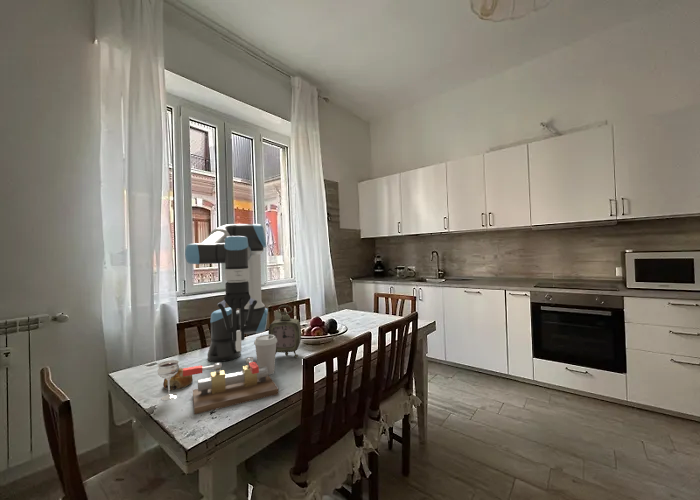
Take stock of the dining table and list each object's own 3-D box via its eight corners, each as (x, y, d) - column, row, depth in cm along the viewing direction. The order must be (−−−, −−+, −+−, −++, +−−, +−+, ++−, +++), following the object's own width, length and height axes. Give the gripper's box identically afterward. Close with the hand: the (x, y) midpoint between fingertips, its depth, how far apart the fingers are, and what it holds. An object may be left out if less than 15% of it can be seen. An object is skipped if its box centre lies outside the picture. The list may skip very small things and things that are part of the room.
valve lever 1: (221, 367, 114) (221, 361, 114) (222, 369, 112) (221, 364, 112) (183, 374, 108) (182, 368, 108) (182, 376, 106) (182, 370, 106)
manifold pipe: (197, 391, 111) (197, 370, 111) (265, 377, 123) (265, 358, 122) (198, 397, 107) (197, 375, 107) (268, 381, 119) (268, 361, 119)
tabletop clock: (268, 360, 147) (267, 307, 147) (273, 353, 156) (272, 303, 156) (299, 359, 147) (298, 306, 147) (302, 353, 156) (301, 303, 156)
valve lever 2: (245, 362, 118) (245, 357, 118) (252, 361, 119) (252, 356, 119) (251, 374, 107) (251, 368, 107) (259, 372, 108) (259, 366, 108)
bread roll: (194, 393, 122) (201, 372, 125) (170, 391, 114) (178, 369, 117) (179, 388, 128) (186, 367, 130) (155, 386, 119) (164, 364, 122)
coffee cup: (271, 378, 127) (271, 341, 127) (250, 376, 129) (249, 340, 128) (281, 369, 136) (281, 334, 136) (261, 367, 138) (260, 333, 138)
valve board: (192, 395, 113) (192, 389, 113) (268, 379, 126) (268, 374, 126) (194, 414, 100) (194, 408, 100) (278, 394, 112) (278, 388, 112)
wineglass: (154, 398, 111) (153, 364, 111) (173, 391, 117) (173, 358, 117) (164, 403, 107) (163, 368, 107) (183, 395, 113) (182, 362, 113)
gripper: (217, 283, 101) (219, 356, 101) (258, 280, 107) (260, 349, 107) (215, 281, 107) (216, 350, 107) (254, 279, 114) (255, 344, 114)
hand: (238, 350), depth 107 cm, fingers closed
